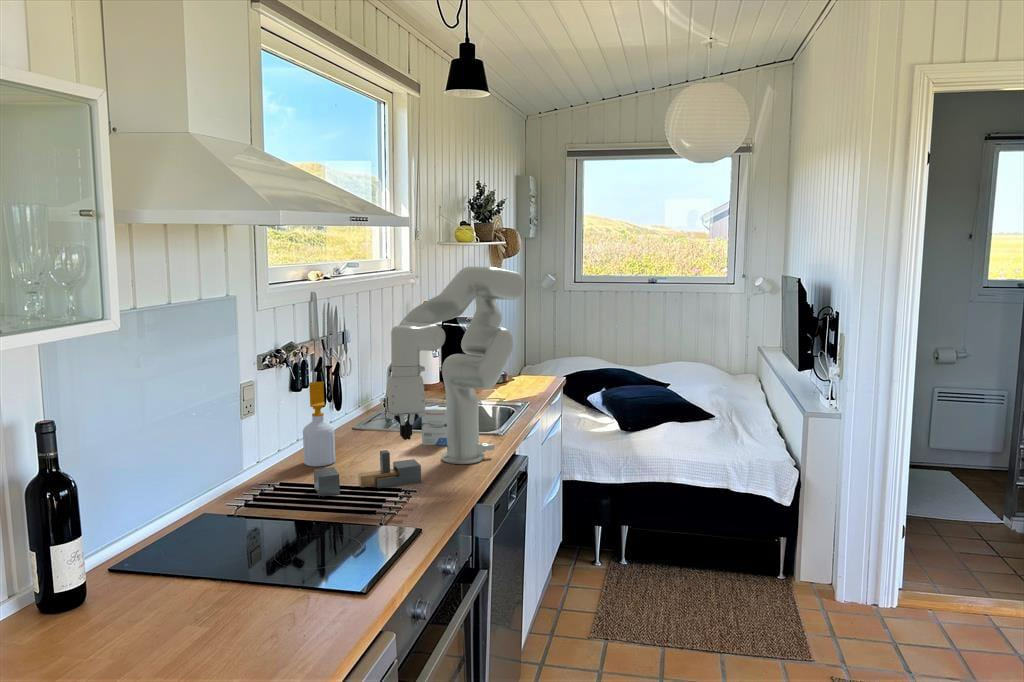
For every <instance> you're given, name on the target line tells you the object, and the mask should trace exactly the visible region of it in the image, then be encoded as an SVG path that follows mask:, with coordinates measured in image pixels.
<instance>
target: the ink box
mask: <svg viewBox="0 0 1024 682" xmlns="http://www.w3.org/2000/svg"><path fill="white" fill-rule="evenodd" d="M425 413H426V415H425V416H422V417H421V443H422V446H447V413H446V406H425Z"/></svg>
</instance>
